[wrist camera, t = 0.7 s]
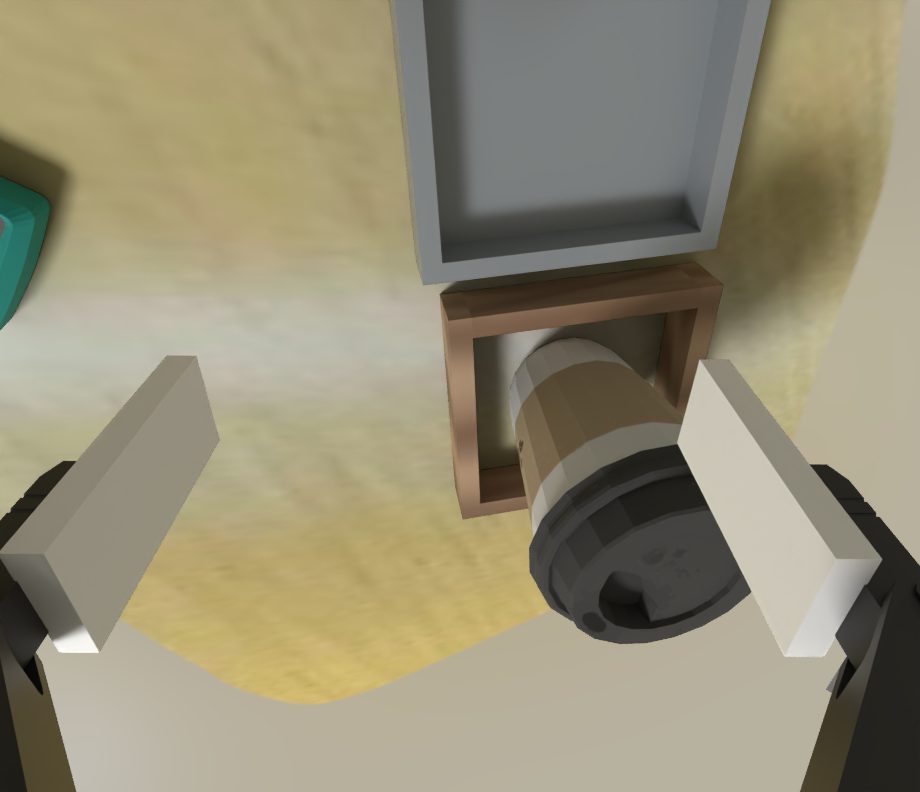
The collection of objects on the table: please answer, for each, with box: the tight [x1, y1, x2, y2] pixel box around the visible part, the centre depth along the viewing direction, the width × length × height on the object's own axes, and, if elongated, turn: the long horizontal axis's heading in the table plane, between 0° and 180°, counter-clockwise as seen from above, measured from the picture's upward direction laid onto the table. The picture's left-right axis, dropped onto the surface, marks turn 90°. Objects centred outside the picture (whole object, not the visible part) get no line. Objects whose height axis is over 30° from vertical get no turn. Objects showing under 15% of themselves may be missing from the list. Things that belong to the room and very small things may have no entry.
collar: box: [440, 262, 724, 519], centre depth 36 cm, size 15×15×3 cm
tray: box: [389, 0, 771, 285], centre depth 25 cm, size 15×15×3 cm
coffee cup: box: [509, 337, 752, 644], centre depth 31 cm, size 11×11×15 cm
